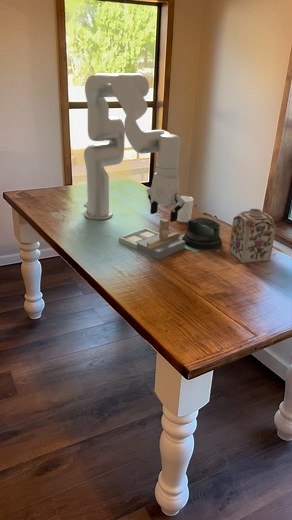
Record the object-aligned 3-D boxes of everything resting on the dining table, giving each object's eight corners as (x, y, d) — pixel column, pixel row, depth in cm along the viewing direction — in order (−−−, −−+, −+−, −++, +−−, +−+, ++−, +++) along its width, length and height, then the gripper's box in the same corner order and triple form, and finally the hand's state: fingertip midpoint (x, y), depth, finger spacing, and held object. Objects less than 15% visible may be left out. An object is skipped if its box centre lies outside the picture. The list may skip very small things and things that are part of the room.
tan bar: (145, 247, 155) (146, 224, 151) (175, 236, 166) (176, 214, 162) (150, 249, 154) (151, 226, 150) (179, 238, 164) (181, 216, 160)
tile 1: (134, 241, 162) (134, 245, 163) (142, 238, 165) (142, 242, 166) (126, 238, 165) (126, 242, 166) (134, 235, 168) (134, 239, 168)
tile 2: (147, 237, 167) (147, 241, 167) (155, 234, 170) (155, 238, 170) (139, 234, 169) (139, 237, 170) (147, 231, 172) (147, 234, 173)
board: (136, 250, 160) (136, 242, 159) (163, 239, 170) (163, 232, 169) (158, 259, 153) (158, 252, 152) (184, 248, 163) (185, 241, 162)
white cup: (191, 217, 195) (193, 196, 190) (191, 223, 188) (193, 201, 183) (174, 216, 195) (176, 195, 191) (173, 222, 188) (175, 200, 184)
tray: (118, 242, 166) (118, 237, 165) (145, 232, 176) (145, 227, 175) (136, 250, 160) (136, 244, 159) (163, 239, 170) (163, 234, 169)
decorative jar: (241, 263, 153) (248, 216, 145) (227, 250, 163) (233, 205, 155) (271, 261, 156) (279, 214, 148) (255, 248, 166) (262, 204, 158)
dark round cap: (235, 242, 171) (238, 220, 167) (210, 257, 157) (212, 234, 153) (194, 229, 182) (196, 209, 178) (166, 243, 168) (168, 221, 164)
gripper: (141, 167, 151) (139, 212, 158) (179, 179, 140) (174, 226, 148) (156, 164, 156) (153, 208, 163) (193, 175, 145) (188, 221, 153)
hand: (163, 217), depth 156 cm, fingers open, 9 cm apart
